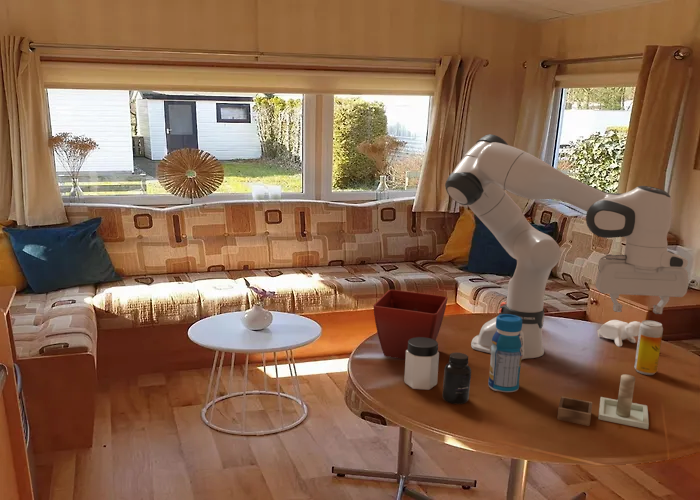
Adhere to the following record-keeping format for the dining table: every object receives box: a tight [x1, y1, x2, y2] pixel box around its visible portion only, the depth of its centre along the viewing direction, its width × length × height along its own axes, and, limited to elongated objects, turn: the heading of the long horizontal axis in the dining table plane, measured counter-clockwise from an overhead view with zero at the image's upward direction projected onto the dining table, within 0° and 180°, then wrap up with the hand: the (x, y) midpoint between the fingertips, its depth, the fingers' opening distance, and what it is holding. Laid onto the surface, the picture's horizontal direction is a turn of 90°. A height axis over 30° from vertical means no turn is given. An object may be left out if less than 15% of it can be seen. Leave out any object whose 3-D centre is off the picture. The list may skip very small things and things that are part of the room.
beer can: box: [634, 319, 664, 376], centre depth 181 cm, size 6×6×15 cm
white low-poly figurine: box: [596, 319, 642, 347], centre depth 206 cm, size 9×8×15 cm
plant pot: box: [373, 289, 449, 360], centre depth 190 cm, size 19×19×17 cm
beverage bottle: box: [487, 314, 523, 393], centre depth 166 cm, size 8×8×20 cm
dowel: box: [616, 373, 636, 418], centre depth 153 cm, size 3×3×10 cm
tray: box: [598, 396, 650, 430], centre depth 154 cm, size 11×11×2 cm
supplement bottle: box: [441, 352, 472, 405], centre depth 160 cm, size 7×7×12 cm
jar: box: [403, 337, 440, 391], centre depth 168 cm, size 9×8×12 cm
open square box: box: [556, 395, 593, 427], centre depth 152 cm, size 7×7×4 cm
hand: (637, 312), depth 148 cm, fingers open, 8 cm apart
